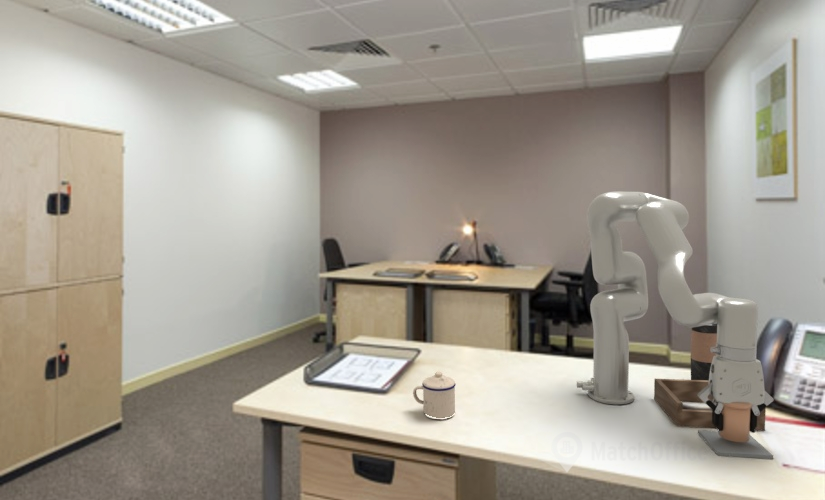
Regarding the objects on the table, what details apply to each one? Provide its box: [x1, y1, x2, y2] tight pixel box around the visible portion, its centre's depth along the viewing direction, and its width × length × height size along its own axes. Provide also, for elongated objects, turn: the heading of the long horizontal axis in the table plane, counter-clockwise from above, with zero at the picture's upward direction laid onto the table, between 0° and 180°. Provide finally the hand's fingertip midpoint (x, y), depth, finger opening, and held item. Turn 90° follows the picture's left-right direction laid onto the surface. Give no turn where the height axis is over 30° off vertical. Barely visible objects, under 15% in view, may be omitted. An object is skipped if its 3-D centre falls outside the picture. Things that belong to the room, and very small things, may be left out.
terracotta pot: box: [717, 403, 753, 442], centre depth 110 cm, size 7×7×9 cm
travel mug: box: [690, 324, 717, 381], centre depth 147 cm, size 8×8×20 cm
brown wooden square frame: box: [653, 378, 767, 432], centre depth 128 cm, size 20×18×6 cm
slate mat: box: [697, 429, 774, 460], centre depth 111 cm, size 11×11×1 cm
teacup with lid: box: [412, 371, 456, 418], centre depth 132 cm, size 12×9×12 cm
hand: (733, 428), depth 111 cm, fingers closed on terracotta pot, 6 cm apart
